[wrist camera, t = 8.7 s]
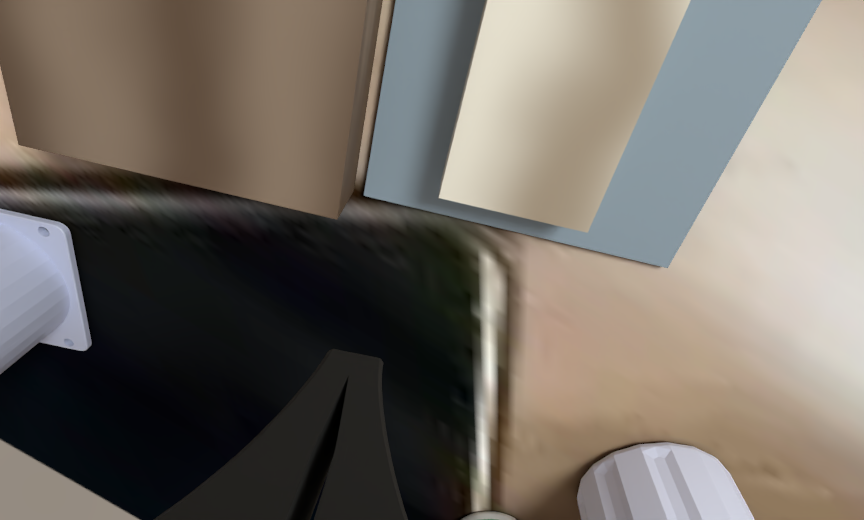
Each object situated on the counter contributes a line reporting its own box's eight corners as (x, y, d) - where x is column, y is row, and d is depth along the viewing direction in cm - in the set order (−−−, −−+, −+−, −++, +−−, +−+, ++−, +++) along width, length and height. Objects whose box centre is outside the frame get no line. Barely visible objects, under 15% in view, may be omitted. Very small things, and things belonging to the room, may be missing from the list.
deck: (77, 124, 20) (18, 144, 17) (12, -273, 14) (-92, -332, 11) (353, 190, 21) (337, 219, 18) (407, -161, 15) (393, -194, 12)
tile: (587, 232, 18) (577, 211, 20) (705, -32, 14) (678, -30, 16) (438, 197, 18) (441, 179, 20) (508, -84, 13) (503, -77, 15)
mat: (364, 193, 21) (363, 195, 20) (422, -157, 15) (421, -160, 14) (665, 264, 21) (667, 268, 21) (838, -40, 15) (844, -40, 15)
